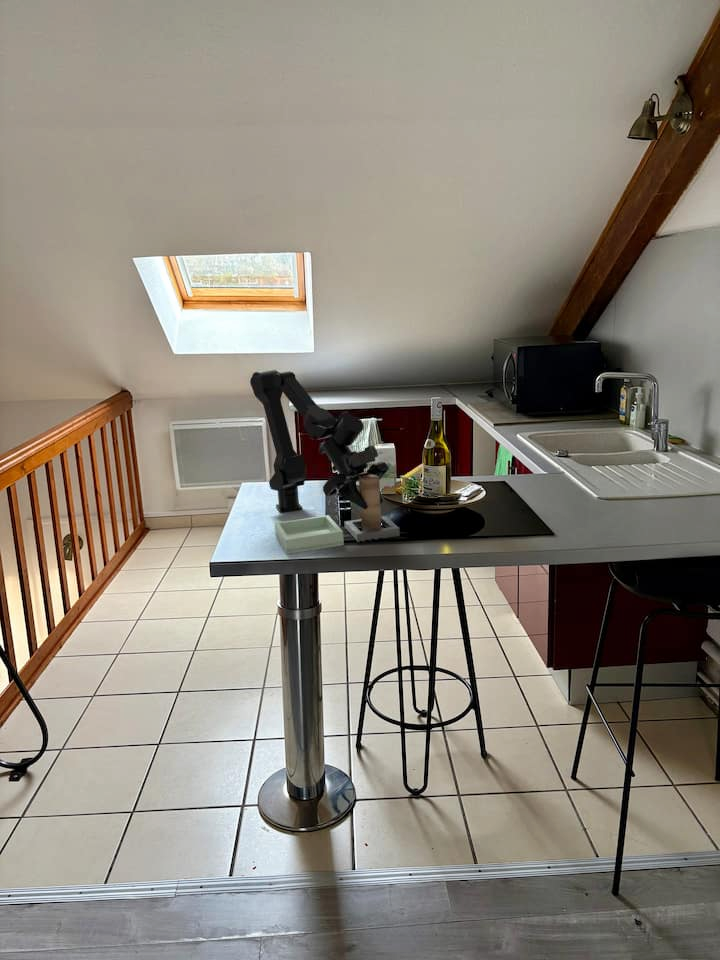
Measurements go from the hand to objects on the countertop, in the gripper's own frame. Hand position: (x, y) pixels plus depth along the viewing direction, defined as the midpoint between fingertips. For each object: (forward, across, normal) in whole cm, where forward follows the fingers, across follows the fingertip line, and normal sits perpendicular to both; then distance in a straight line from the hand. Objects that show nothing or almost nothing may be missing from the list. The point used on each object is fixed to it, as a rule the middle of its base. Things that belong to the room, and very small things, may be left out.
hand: (374, 505), depth 184 cm
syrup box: (-11, +28, +22) cm, 37 cm away
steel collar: (+4, 0, +6) cm, 7 cm away
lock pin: (+4, 0, +6) cm, 7 cm away
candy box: (-4, +30, +15) cm, 33 cm away
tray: (-2, -14, +12) cm, 18 cm away
